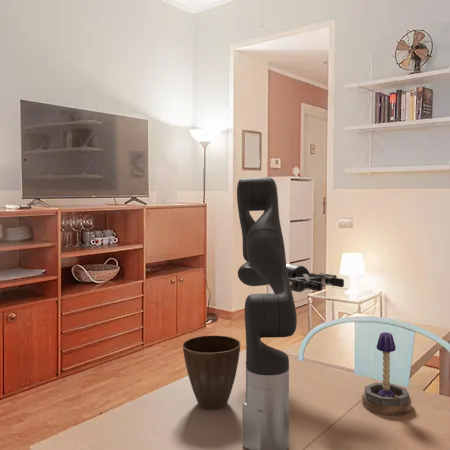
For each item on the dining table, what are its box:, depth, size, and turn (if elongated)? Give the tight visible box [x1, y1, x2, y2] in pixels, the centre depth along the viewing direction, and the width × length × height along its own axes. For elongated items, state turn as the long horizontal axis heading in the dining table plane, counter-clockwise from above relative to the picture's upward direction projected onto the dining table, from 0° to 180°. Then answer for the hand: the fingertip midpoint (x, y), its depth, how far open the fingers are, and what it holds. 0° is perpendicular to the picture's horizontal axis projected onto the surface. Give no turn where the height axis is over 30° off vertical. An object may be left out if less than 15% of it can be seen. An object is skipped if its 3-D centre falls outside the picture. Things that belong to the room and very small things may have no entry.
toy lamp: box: [376, 331, 396, 397], centre depth 130 cm, size 5×5×17 cm
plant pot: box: [182, 335, 241, 411], centre depth 132 cm, size 15×15×16 cm
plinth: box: [361, 382, 412, 416], centre depth 131 cm, size 12×12×4 cm
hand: (332, 285), depth 136 cm, fingers open, 8 cm apart
